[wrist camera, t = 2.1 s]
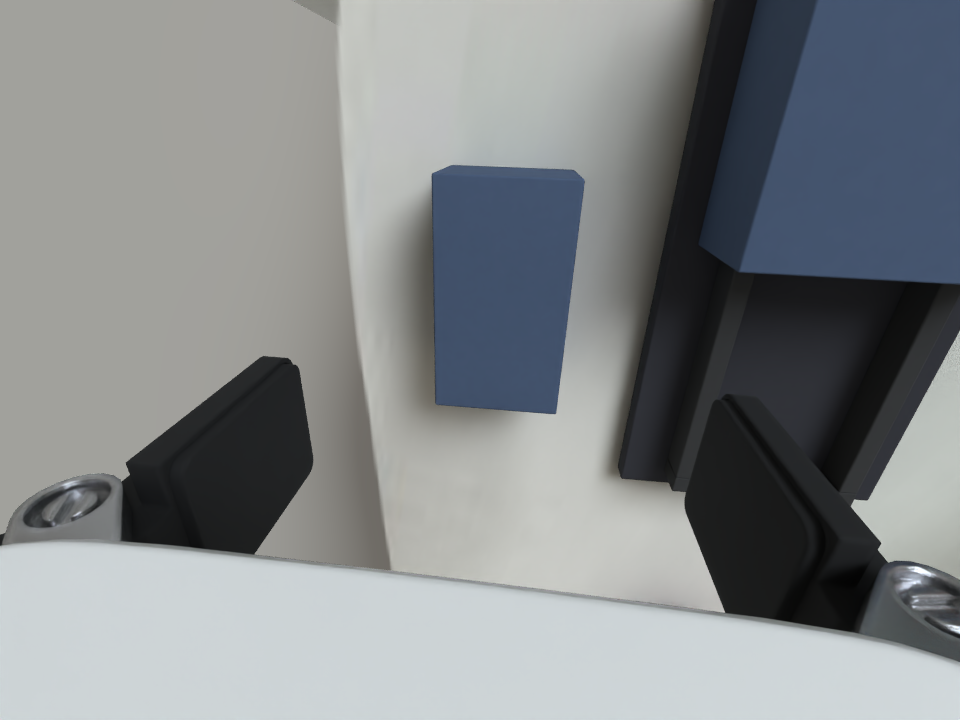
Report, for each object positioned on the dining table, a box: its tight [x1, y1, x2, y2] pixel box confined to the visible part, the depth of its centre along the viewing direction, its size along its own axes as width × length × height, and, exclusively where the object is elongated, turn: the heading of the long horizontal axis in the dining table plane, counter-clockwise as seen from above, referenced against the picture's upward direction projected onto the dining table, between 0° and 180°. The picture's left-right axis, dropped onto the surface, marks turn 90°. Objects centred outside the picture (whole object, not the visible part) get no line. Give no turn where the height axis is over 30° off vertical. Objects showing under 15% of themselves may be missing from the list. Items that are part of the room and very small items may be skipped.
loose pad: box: [432, 165, 585, 414], centre depth 19 cm, size 5×9×4 cm, turn 179°
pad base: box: [618, 0, 960, 506], centre depth 17 cm, size 12×22×5 cm, turn 179°
